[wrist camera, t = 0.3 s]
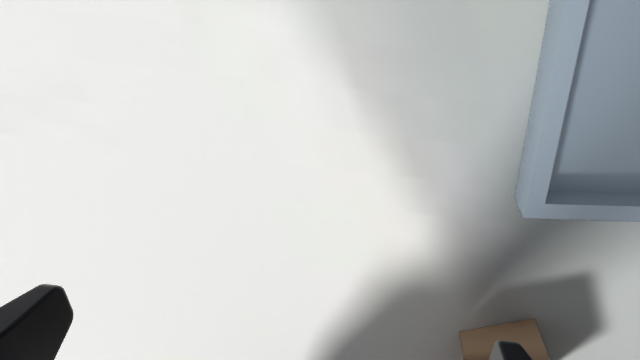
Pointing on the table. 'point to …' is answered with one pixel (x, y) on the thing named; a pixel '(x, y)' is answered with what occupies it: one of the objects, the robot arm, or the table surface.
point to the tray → (585, 115)
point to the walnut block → (483, 339)
